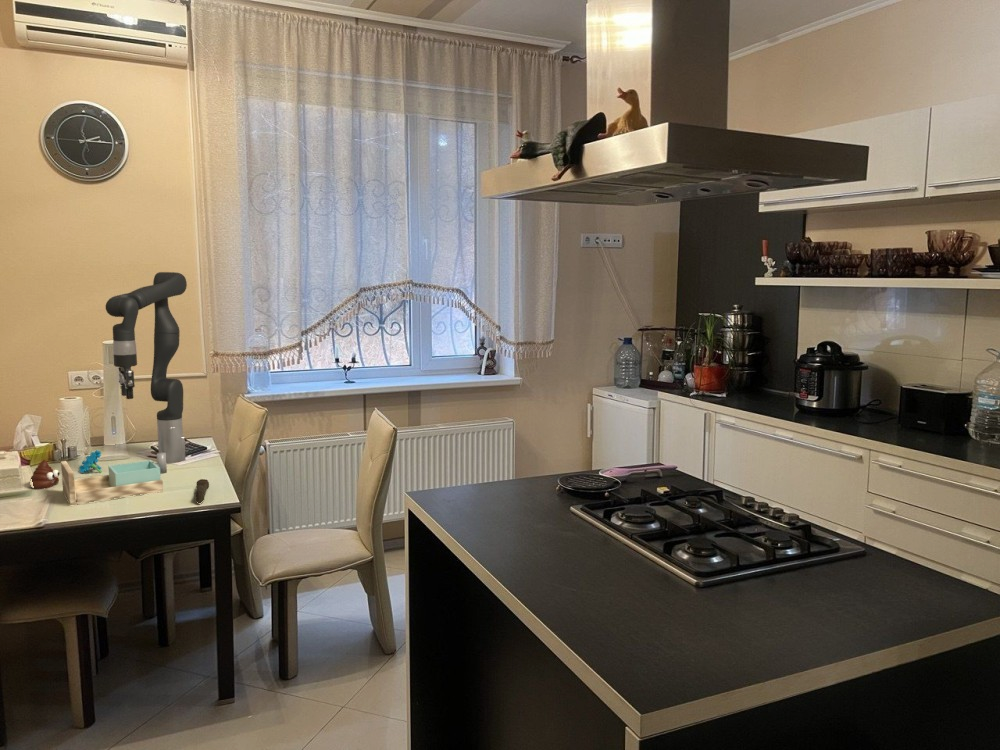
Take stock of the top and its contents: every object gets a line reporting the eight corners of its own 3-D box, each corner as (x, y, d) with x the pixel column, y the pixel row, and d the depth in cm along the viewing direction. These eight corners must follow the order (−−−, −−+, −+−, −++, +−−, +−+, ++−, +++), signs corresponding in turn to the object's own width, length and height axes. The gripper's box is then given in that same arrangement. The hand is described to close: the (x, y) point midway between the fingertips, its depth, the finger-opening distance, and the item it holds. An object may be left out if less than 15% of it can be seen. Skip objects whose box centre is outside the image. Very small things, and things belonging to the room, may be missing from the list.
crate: (162, 476, 272) (161, 449, 271) (171, 485, 262) (170, 456, 260) (109, 484, 262) (107, 455, 260) (116, 493, 251) (114, 463, 250)
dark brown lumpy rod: (197, 490, 262) (196, 477, 261) (209, 489, 263) (208, 476, 262) (190, 506, 244) (189, 493, 243) (203, 505, 245) (202, 492, 244)
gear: (75, 465, 284) (95, 445, 287) (88, 474, 288) (108, 454, 290) (80, 475, 276) (100, 455, 278) (93, 484, 279) (113, 464, 282)
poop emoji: (41, 481, 269) (39, 456, 267) (65, 482, 269) (63, 456, 267) (24, 489, 259) (21, 463, 257) (48, 490, 259) (46, 463, 257)
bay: (151, 479, 272) (149, 450, 271) (163, 491, 258) (161, 460, 256) (63, 492, 256) (60, 461, 254) (70, 506, 241) (68, 473, 240)
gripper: (140, 354, 265) (143, 399, 267) (132, 350, 276) (134, 393, 278) (117, 355, 260) (119, 401, 263) (109, 351, 272) (112, 395, 274)
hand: (127, 397), depth 271 cm, fingers open, 8 cm apart
